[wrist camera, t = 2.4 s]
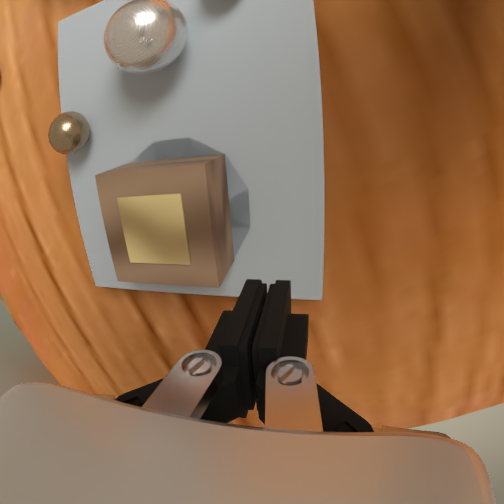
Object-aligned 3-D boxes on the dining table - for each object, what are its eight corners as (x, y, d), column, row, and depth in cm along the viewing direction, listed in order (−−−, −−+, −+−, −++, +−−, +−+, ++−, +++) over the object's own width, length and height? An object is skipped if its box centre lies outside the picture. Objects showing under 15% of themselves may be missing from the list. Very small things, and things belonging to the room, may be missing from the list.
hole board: (76, 25, 23) (58, 21, 20) (309, -28, 18) (307, -43, 16) (110, 273, 34) (95, 286, 32) (322, 282, 30) (322, 299, 27)
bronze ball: (65, 114, 24) (37, 118, 21) (95, 105, 24) (67, 108, 20) (70, 153, 26) (43, 161, 23) (100, 146, 25) (73, 154, 22)
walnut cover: (126, 163, 25) (93, 175, 21) (224, 154, 23) (203, 164, 19) (143, 257, 28) (116, 282, 24) (234, 260, 27) (218, 288, 23)
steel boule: (130, 19, 20) (86, 4, 15) (198, 1, 19) (164, -25, 13) (133, 83, 22) (87, 81, 17) (202, 69, 21) (167, 59, 16)
